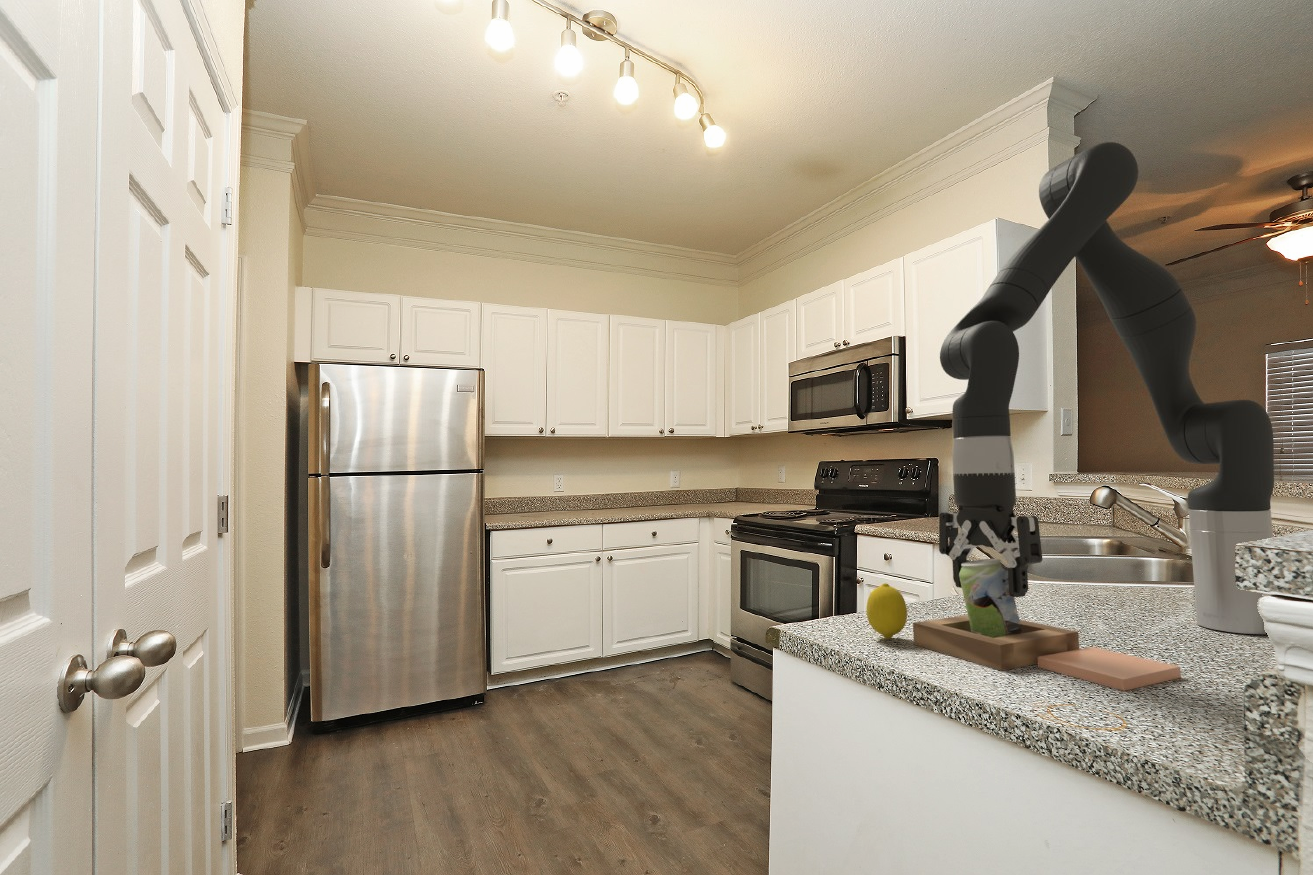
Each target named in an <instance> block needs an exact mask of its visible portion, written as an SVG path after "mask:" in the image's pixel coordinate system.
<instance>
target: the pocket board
mask: <svg viewBox="0 0 1313 875" xmlns="http://www.w3.org/2000/svg"><path fill="white" fill-rule="evenodd" d="M1019 620H1020V625H1021V629H1022V633H1021V634H1015V635H1009V636H1003V637H997V638H992V637H988V636H984V635H980V634H976V633H972V631H971V626H970V622H969V618H968V614H965V615H958V616H957V615H956V616H950V617H945V618H943V617H942V618H936V619H930V620H922V621H915V622H912V629H913V631H912V633H913V645H914V646H918V647H921V648H924V649H927V650H931V651H934V652H938V653H941V654H944V655H947V656H952V657H955V658H958V659H961V660H965V661H968V662H971V663H975V664H978V665H982V666H985V667H988V668H991V669H995V670H999V671H1001V672H1002V671H1006V670H1011V669H1017V668H1022V667H1028V666H1033V665H1038V657H1040V656H1046V655H1051V654H1056V653H1062V652H1067V651H1072V650H1078V649H1080V641H1079V638H1080V637H1079V631H1077V630H1071V629H1067V628H1061V627H1057V626H1053V625H1047V624H1043V623H1038V622H1034V621H1029V620H1024V619H1020V618H1019Z"/></svg>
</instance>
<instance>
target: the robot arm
mask: <svg viewBox="0 0 1313 875" xmlns="http://www.w3.org/2000/svg"><path fill="white" fill-rule="evenodd" d="M1138 179H1139V166H1138V162H1137V159H1136V157H1135V156H1134V154H1133V153H1132V151H1131V150H1130V149H1129V148H1128V147H1126V146H1125V145H1123V144H1122V143H1119V142H1115V141H1106V142H1102V143H1098V144H1095V145H1092V146H1090V147H1088V148H1086V149H1084V150H1082V151H1081V152H1078V153H1077V154H1075V155H1072V156H1071V157H1069V158H1068V159H1067V160H1065V161H1063V162H1062V163H1059V164H1057V165H1056V166H1054V167H1053V168H1050V169H1049V170H1048V171H1047V172H1046V173H1044V175H1043V177H1042V178H1041V180H1040V183H1039V185H1038V197H1039V202H1040V204H1041V207H1042V210H1043V211H1044V214H1045V215H1046V217H1047V219H1048V220H1047V221H1046V222H1045V223H1044V224H1043V225H1042V226H1041V227H1040V228H1039V229H1038V230H1036V232H1034V233H1033V234H1032V235H1031V236H1030V238H1029V239H1027V240H1026V241H1025V242H1024V243H1022V245H1021V246H1020V247H1019V248H1018V249H1017V250H1016V251H1015V252H1014V253H1013V254H1012V255H1011V256H1010V258H1009V259H1008V260H1007V261H1006V262H1005V264H1004V265H1003V266H1002V267H1001V269H1000V270H999V272H998V273H997V275H996V276H995V278H993V281H992V282H991V284H990V285H989V287H988V288H987V290H986V291H985V293H984V295H983V296H982V298H980V299H979V301H978V302H977V303H976V304H975V305H974V306H973V307H972V308H971V309H970V310H969V311H967V313H966V314H965V315H964V316H963V317H962V318H961V319H960V320H959V321H958V322H957V324H956V325H955V326H954V327H953V328H952V329H951V330H950V331H949V332H948V334H947V335H946V337H945V339H944V341H943V342H942V344H941V348H940V352H939V361H940V366H941V368H942V370H943V371H944V373H946V374H947V375H948V376H949V377H950V378H953V379H955V380H962V381H963V380H964V381H967V387H966V390H965V392H964V393H963V394H962V395H961V396H959V397H958V398H957V399H955V401H954V402H953V403H952V404H953V405H952V413H951V414H952V430H953V432H952V433H953V442H952V443H953V444H952V445H953V447H952V453H951V454H952V455H951V456H952V476H953V477H952V480H953V497H954V498H953V499H954V504H955V505H956V506H957V507H958V512H956V511H946V512H945V511H944V512H940V513H939V516H938V520H939V521H938V525H939V526H938V530H939V532H938V540H939V541H938V548H939V549H938V551H939V553H940V554H941V555H946V556H948V557H949V559H951V561H952V578H953V582H954V584H955V587H956V588H961V589H962V586H961V582H960V577H959V573H960V570H961V568H962V566H961V564H962V563H965V562H969V561H971V560H968V558H969V557H970V556H971V554H972V552H973V550H974V549H975V548H978V547H979V546H984V547H986V548H994V549H995V551H996V552H997V553H999V554H1000V555H1001V556H1002V557H1003V558H1004V560H1005V562H1006V563H1007V564H1008V567H1007V569H1008V583H1009V595H1010V596H1011V597H1014V598H1022V597H1023V598H1024V597H1025V596H1026V594H1027V593H1028V591H1029V576H1028V568H1029V567H1030V566H1031V565H1035V564H1039V563H1042V562H1043V553H1042V552H1043V551H1042V543H1041V541H1042V540H1041V533H1040V524H1039V519H1038V517H1037V516H1036V515H1019V516H1016V514H1015V511H1014V508H1015V505H1016V504H1017V494H1016V491H1017V490H1016V489H1017V488H1016V474H1015V473H1016V472H1015V455H1014V449H1013V445H1012V438H1011V436H1012V435H1011V417H1010V416H1011V415H1010V403H1011V399H1012V395H1013V391H1014V387H1015V382H1016V377H1017V374H1018V373H1017V372H1018V367H1019V361H1020V347H1019V343H1018V339H1017V337H1016V335H1015V333H1014V332H1015V331H1017V330H1019V329H1020V328H1023V327H1024V326H1025V325H1026V324H1028V323H1029V322H1030V320H1031V319H1032V318H1033V317H1034V316H1035V314H1036V312H1037V311H1038V310H1039V308H1040V307H1041V305H1042V304H1043V302H1044V300H1045V299H1046V297H1047V296H1048V294H1049V293H1050V291H1051V289H1052V288H1053V286H1054V285H1055V283H1056V282H1057V281H1058V279H1059V278H1060V277H1061V275H1062V273H1063V272H1064V271H1065V269H1066V268H1067V267H1068V266H1069V265H1070V263H1071V262H1072V260H1073V259H1074V258H1075V259H1076V261H1077V262H1078V263H1079V265H1080V266H1081V268H1082V270H1083V272H1084V274H1085V275H1086V277H1087V279H1088V280H1089V282H1090V284H1091V286H1092V287H1093V289H1094V291H1095V293H1096V294H1097V296H1098V298H1099V299H1100V301H1101V303H1102V305H1103V307H1104V309H1105V311H1106V313H1107V316H1108V317H1109V319H1110V322H1111V323H1112V325H1113V327H1114V329H1115V332H1116V333H1117V334H1118V336H1119V338H1120V339H1121V341H1122V343H1123V345H1124V346H1125V348H1126V350H1127V351H1128V353H1129V355H1130V357H1131V359H1132V361H1133V362H1134V365H1135V366H1136V369H1137V371H1138V373H1139V375H1140V376H1141V378H1142V381H1143V383H1144V384H1145V387H1146V389H1147V391H1148V394H1149V396H1150V398H1151V401H1152V404H1153V406H1154V409H1155V411H1156V414H1157V417H1158V420H1159V421H1160V424H1161V427H1162V429H1163V431H1164V434H1165V435H1166V438H1167V440H1168V443H1169V444H1170V446H1171V448H1172V449H1173V451H1174V452H1175V453H1176V454H1177V456H1179V458H1180V459H1182V460H1184V461H1185V462H1187V463H1190V464H1196V465H1197V464H1198V465H1207V464H1208V465H1215V464H1218V473H1217V475H1216V476H1215V478H1213V479H1212V480H1211V481H1210V482H1208V483H1206V484H1204V485H1200V486H1198V487H1195V488H1193V489H1191V490H1189V492H1188V493H1187V508H1188V519H1189V520H1188V522H1189V532H1190V545H1191V547H1190V548H1191V559H1192V560H1191V562H1192V570H1193V571H1192V574H1193V575H1192V576H1193V586H1194V599H1195V600H1194V601H1195V614H1196V616H1195V617H1196V623H1197V625H1199V626H1201V627H1204V628H1207V629H1211V630H1217V631H1221V632H1228V633H1237V634H1247V635H1248V634H1249V635H1267V634H1266V632H1265V630H1264V622H1263V619H1262V618H1261V616H1260V614H1259V612H1258V609H1257V602H1258V599H1259V598H1260V597H1262V594H1260V593H1256V592H1250V591H1246V590H1240V589H1238V588H1237V587H1236V583H1235V545H1236V544H1237V543H1241V542H1248V541H1257V540H1262V539H1266V538H1270V537H1273V538H1274V533H1273V522H1272V520H1273V519H1272V510H1271V506H1272V505H1271V498H1272V494H1273V493H1274V492H1273V491H1274V488H1275V487H1274V486H1275V467H1274V466H1275V465H1274V464H1275V462H1274V460H1275V458H1274V457H1275V456H1274V453H1275V452H1274V450H1275V449H1274V446H1275V444H1274V443H1275V442H1274V430H1273V424H1272V421H1271V417H1270V416H1269V414H1268V412H1267V410H1266V409H1265V408H1264V407H1263V406H1262V405H1261V404H1260V403H1258V402H1257V401H1254V400H1251V399H1233V400H1232V399H1231V400H1227V401H1226V400H1225V401H1224V400H1223V401H1216V402H1215V401H1214V402H1206V403H1204V401H1202V399H1201V397H1200V396H1199V394H1198V392H1197V390H1196V389H1195V388H1196V387H1195V385H1194V384H1193V382H1192V379H1191V376H1190V360H1191V355H1192V349H1193V346H1194V342H1195V337H1196V331H1197V318H1196V315H1195V314H1196V313H1195V312H1194V309H1193V307H1192V305H1191V303H1190V301H1189V300H1188V298H1187V296H1186V294H1185V293H1184V291H1183V288H1182V286H1181V285H1180V283H1179V281H1178V280H1177V278H1176V277H1175V276H1174V275H1173V274H1172V273H1171V272H1170V271H1169V270H1167V269H1166V268H1165V267H1163V266H1161V265H1160V264H1159V263H1157V262H1156V261H1154V260H1152V259H1150V258H1149V257H1148V256H1145V255H1143V254H1142V253H1141V252H1139V251H1137V250H1136V249H1135V248H1132V247H1131V246H1129V245H1128V244H1126V242H1124V241H1123V240H1122V239H1121V238H1120V237H1119V236H1118V235H1117V234H1116V233H1115V232H1114V229H1113V228H1112V227H1111V225H1110V224H1109V222H1108V219H1109V218H1110V217H1111V216H1112V215H1113V214H1114V213H1115V212H1116V211H1117V210H1118V209H1119V208H1120V207H1121V206H1122V204H1124V203H1125V201H1126V200H1127V199H1128V198H1129V197H1130V196H1131V194H1132V193H1133V191H1134V190H1135V187H1136V185H1137V182H1138ZM959 528H960V530H959ZM1014 531H1016V532H1017V535H1015V533H1014Z"/></svg>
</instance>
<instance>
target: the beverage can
mask: <svg viewBox="0 0 1313 875" xmlns="http://www.w3.org/2000/svg"><path fill="white" fill-rule="evenodd" d="M961 566H962V568H961V570H960V573H959V577H960V582H961V586H962V588H961V590H962V594H963V600H964V603H965V609H966V613H967V615H968V618H969V622H970V626H971V631H972V633H976V634H980V635H984V636H988V637H992V638H997V637H1003V636H1009V635H1015V634H1021V633H1022V629H1021V625H1020V620H1021V619H1020V617H1019V612H1018V608H1017V604H1016V600H1015V597H1011V596H1010V595H1009V583H1008V567H1006V565H1004V564H1003V563H1002V559H999V558H984V559H983V558H982V559H976V560H970V561H969V562H965V563H962V564H961ZM1019 619H1020V620H1019Z"/></svg>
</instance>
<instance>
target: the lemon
mask: <svg viewBox="0 0 1313 875" xmlns="http://www.w3.org/2000/svg"><path fill="white" fill-rule="evenodd" d="M868 595H869V596H868V598H867V602H866V618H867V621H868V623H869V625H870V626H871V628H872V629H873V630H874V631H875V632H877V633H878V634H879V635H882V637H883V638H884V639H886V640H890V639H891V638H892V637H893V636H895V635H897V634H900V633H901V631H902V630H904V628H905V626H906V624H907V620H908V608H907V604H906V601H905V600H906V599H905V598H904V596H903V594H901V592H900V591H899V590H898V589H896V588H895V587H893V586H891V585H889V583H887V582H885V583H882V584H881V585H880V586H878V587H876V588H874V589H873V590H872V591H871V592H870V593H869V594H868Z"/></svg>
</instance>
